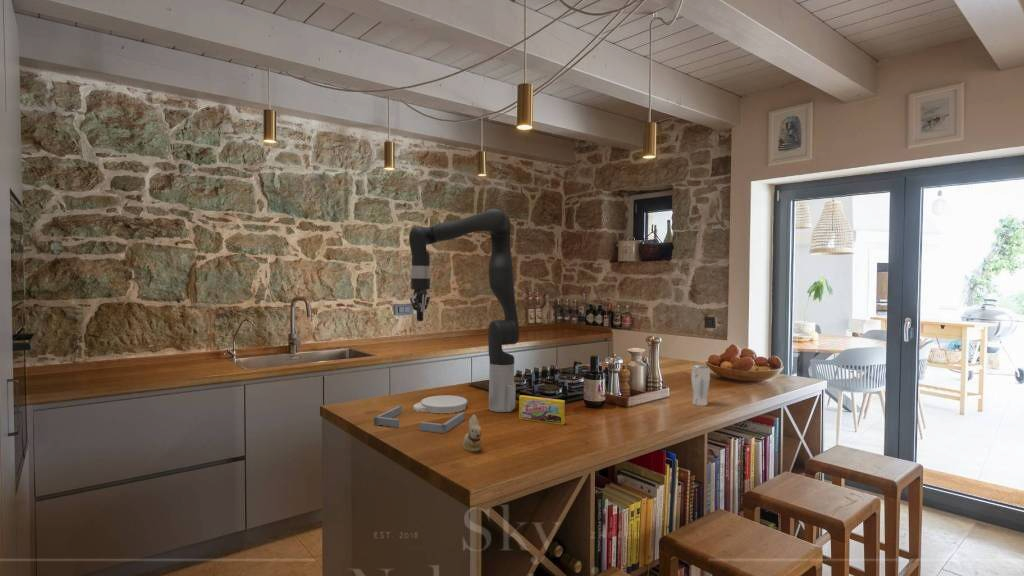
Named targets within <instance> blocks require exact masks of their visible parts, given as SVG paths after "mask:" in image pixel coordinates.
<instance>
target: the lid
mask: <svg viewBox="0 0 1024 576" xmlns="http://www.w3.org/2000/svg"><path fill="white" fill-rule="evenodd" d="M467 405H468V399H467V398H465V397H463V396H458V395H448V394H447V395H446V394H445V395H434V396H428V397H425V398H422V399H421V400H420V401H419V402H417V403H414V404H413V406H412V407H413V410H414V411H415V410H416V411H415V412H418V411H421V412H422V413H425V412H426V413H429V412H430V414H436V413H440V415H441V413H442V415H444V413H449V414H455V412H457V413H461V412H463V410H464V411H465V410H467ZM460 411H461V412H460ZM421 412H420V413H421Z"/></svg>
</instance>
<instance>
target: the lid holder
mask: <svg viewBox="0 0 1024 576" xmlns="http://www.w3.org/2000/svg"><path fill="white" fill-rule="evenodd" d="M402 407H403V406H401V405H397V406H395V407H393V408H391V409H389V410H387V411H384V412H383V413H381V414H378V415H376V416H374V417H373V425H374V426H378V425H383V426H382V427H387V426H390V427H389V428H395V427H398V428H400V419H399V418H395V417H397V416H399V415H401V414H402V413H403V412H402V410H403V408H402ZM398 414H399V415H398ZM464 420H465V412H463V411H461V412H458V414H456V415H455V416H453V417H451V418H450V419H447V420H446V421H445V422H444V423H436V422H435V423H434V422H428V421H420V422H419V431H422V432H431V433H436V434H437V433H438V434H446V433H447V432H448V431H451V429H453V428H455V427H456V426H457V425H459V424H461V423H462V422H464Z"/></svg>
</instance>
